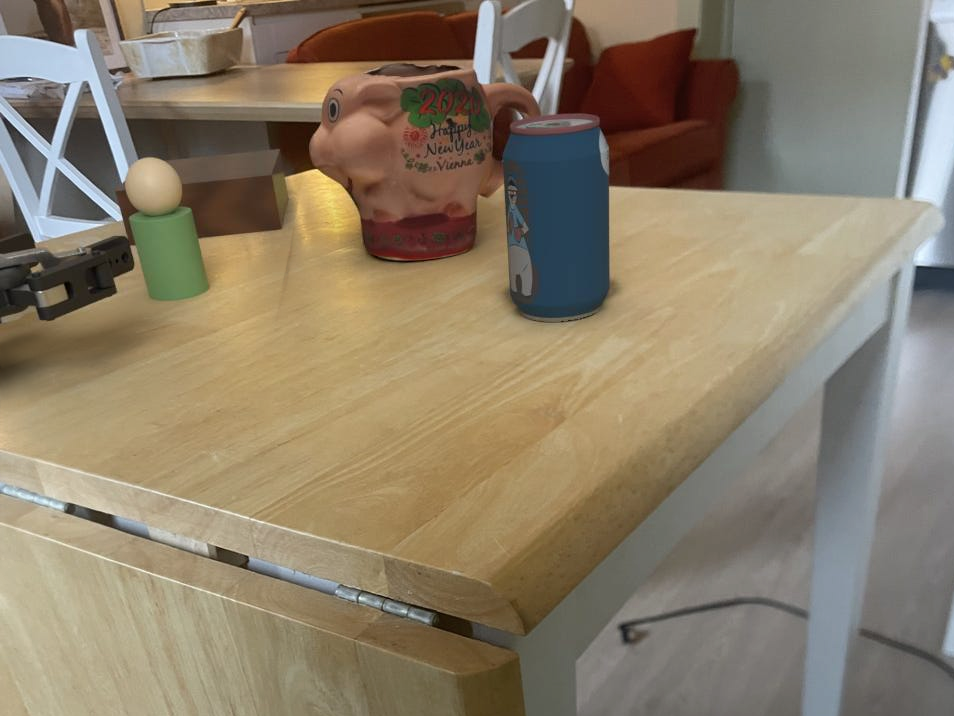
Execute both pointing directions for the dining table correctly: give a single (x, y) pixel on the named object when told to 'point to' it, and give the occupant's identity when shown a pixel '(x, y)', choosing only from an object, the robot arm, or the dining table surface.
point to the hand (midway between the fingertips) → (78, 249)
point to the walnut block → (226, 193)
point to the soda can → (557, 216)
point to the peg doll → (164, 232)
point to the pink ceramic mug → (415, 153)
